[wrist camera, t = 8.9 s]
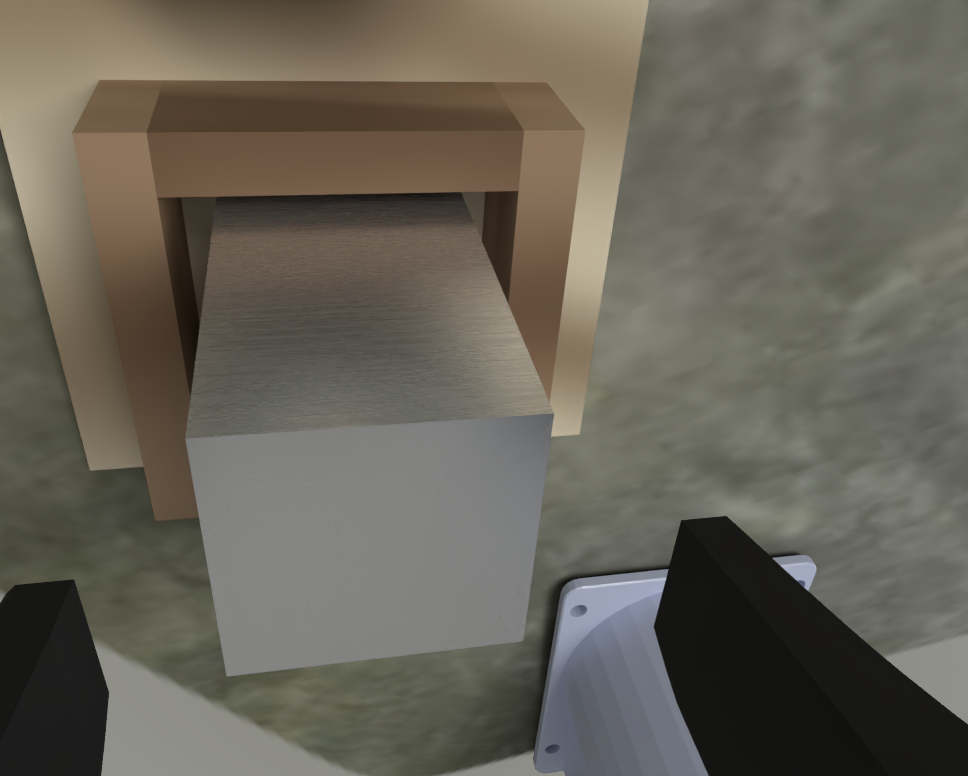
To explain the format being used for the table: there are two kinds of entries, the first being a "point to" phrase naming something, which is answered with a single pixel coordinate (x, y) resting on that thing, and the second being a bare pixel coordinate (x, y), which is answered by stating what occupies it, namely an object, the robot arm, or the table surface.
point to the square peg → (362, 432)
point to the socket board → (300, 169)
